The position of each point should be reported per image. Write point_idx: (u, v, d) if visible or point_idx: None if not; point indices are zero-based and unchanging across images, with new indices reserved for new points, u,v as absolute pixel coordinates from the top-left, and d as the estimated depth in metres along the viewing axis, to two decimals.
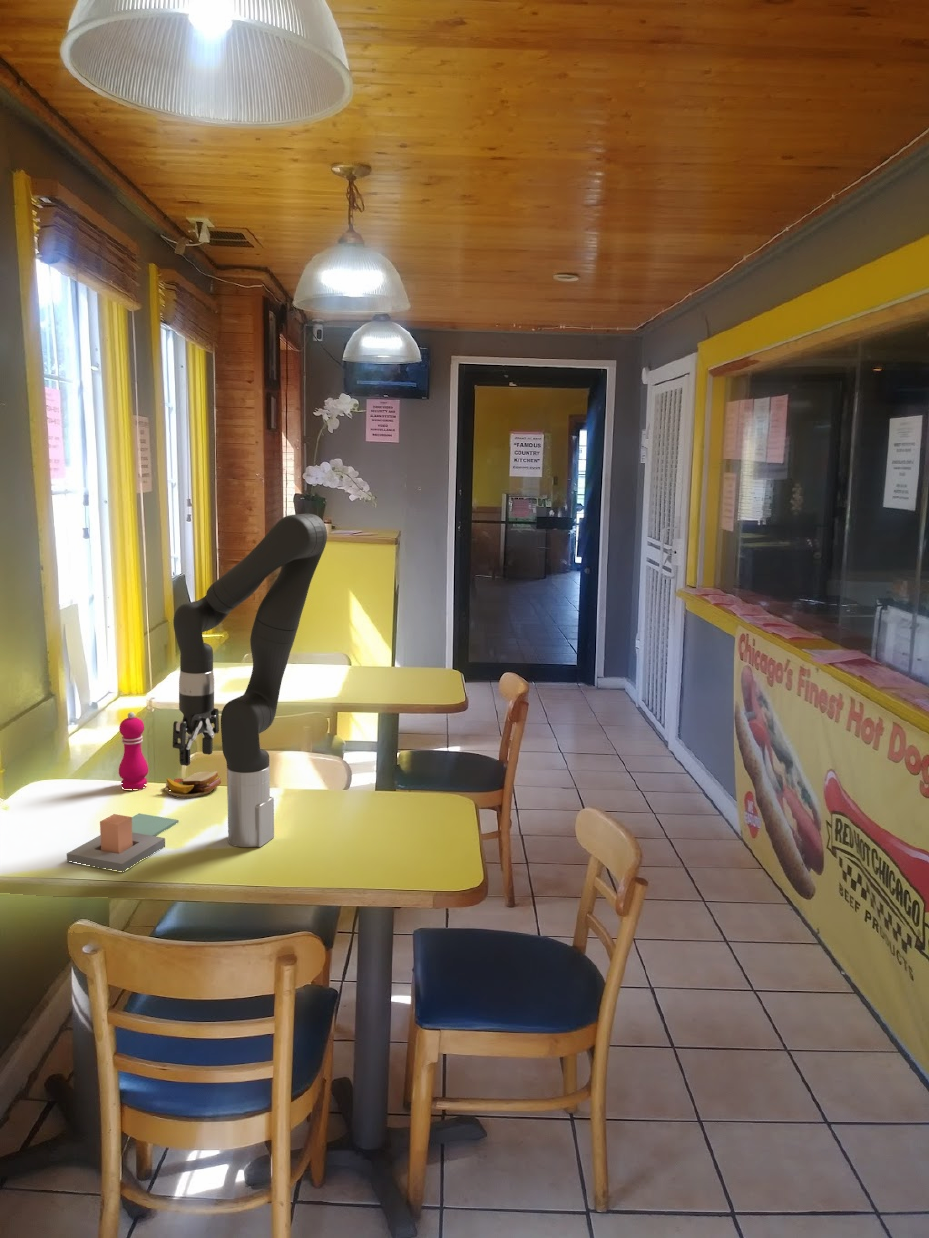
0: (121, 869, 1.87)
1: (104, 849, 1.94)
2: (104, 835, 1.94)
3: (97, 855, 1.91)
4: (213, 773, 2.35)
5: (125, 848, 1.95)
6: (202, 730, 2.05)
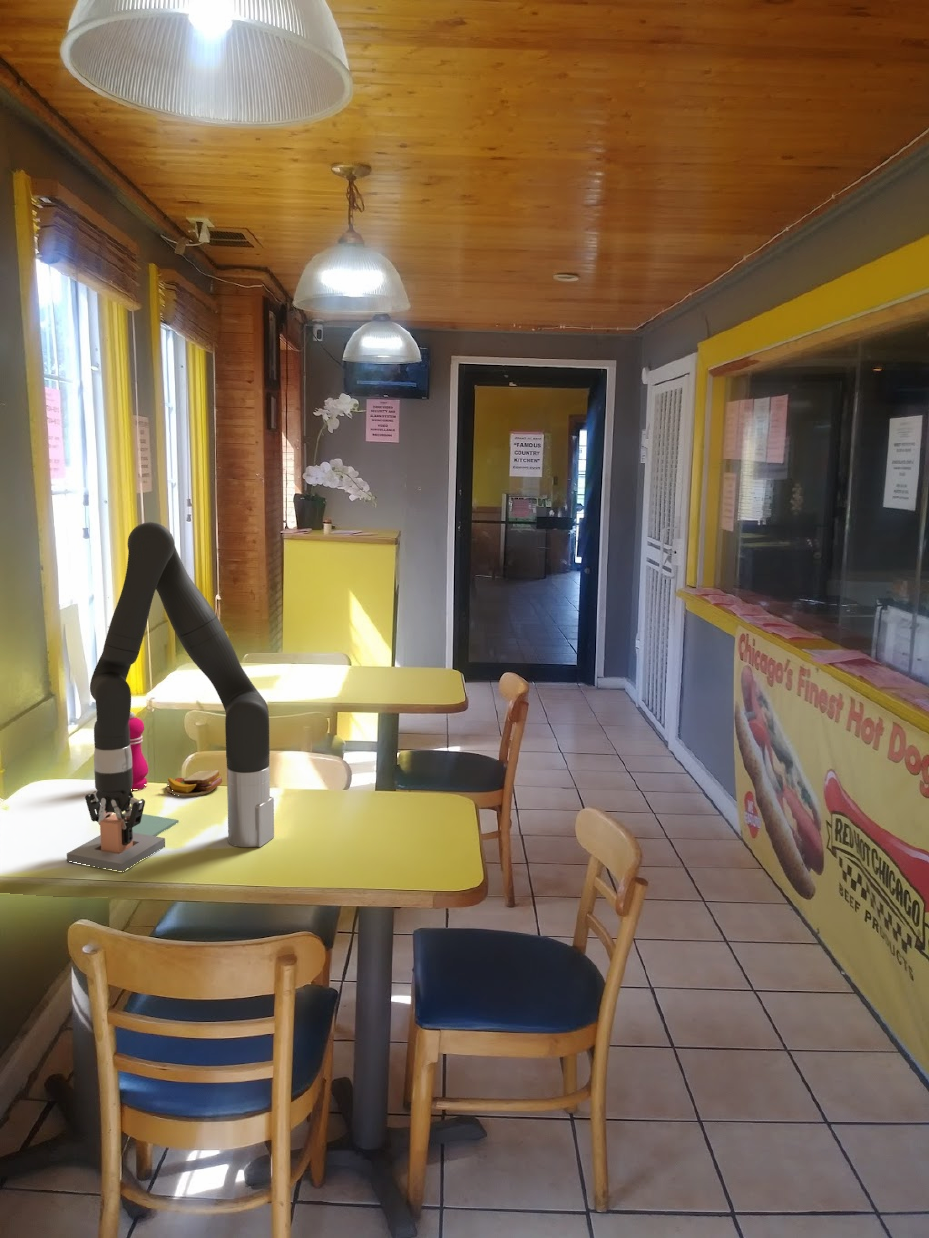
0: (121, 869, 1.87)
1: (104, 849, 1.94)
2: (104, 835, 1.93)
3: (97, 855, 1.91)
4: (214, 772, 2.35)
5: (125, 848, 1.95)
6: None
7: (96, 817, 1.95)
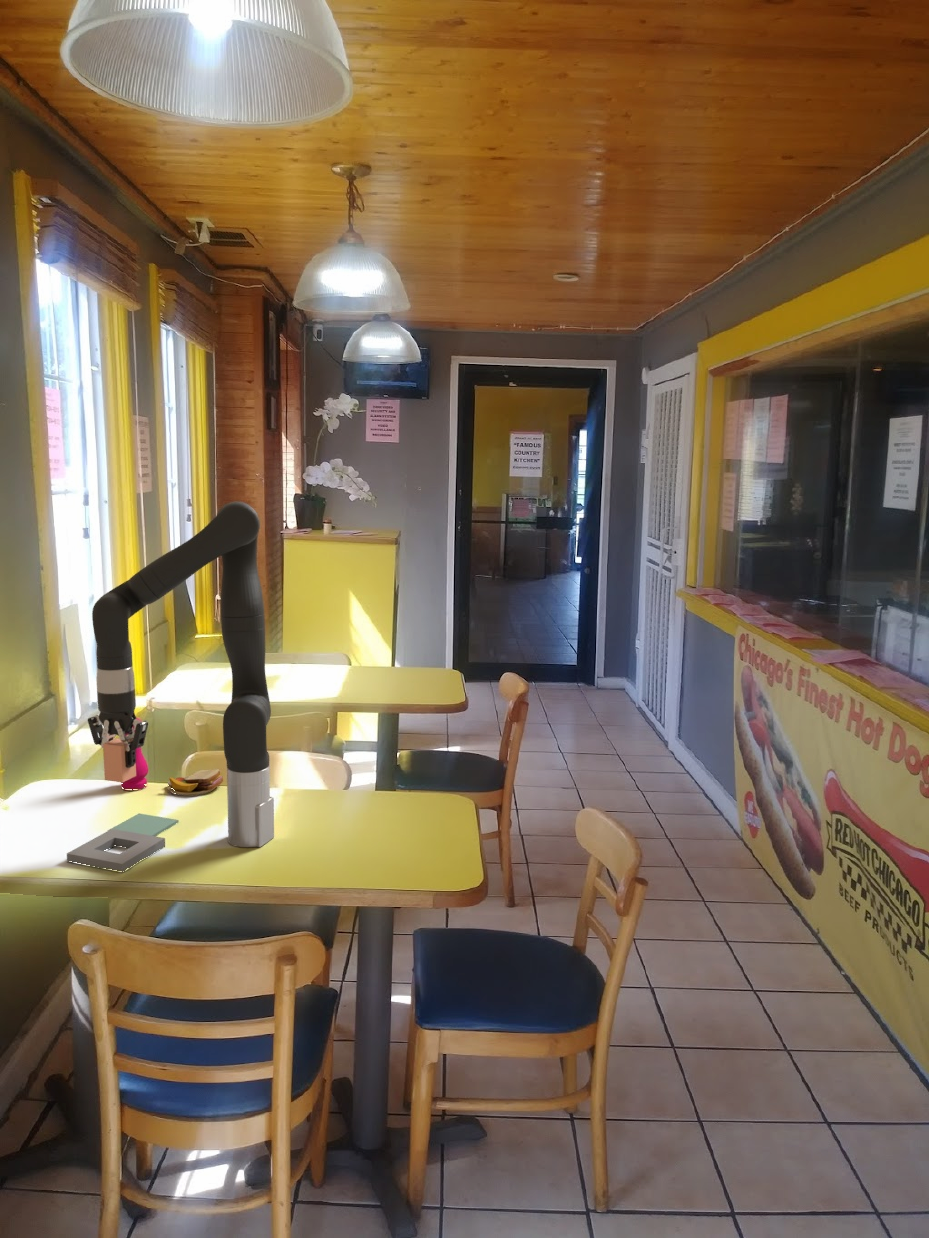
0: (121, 869, 1.87)
1: (107, 772, 1.94)
2: (107, 757, 1.93)
3: (97, 855, 1.91)
4: (215, 771, 2.36)
5: (128, 771, 1.95)
6: None
7: (99, 740, 1.95)
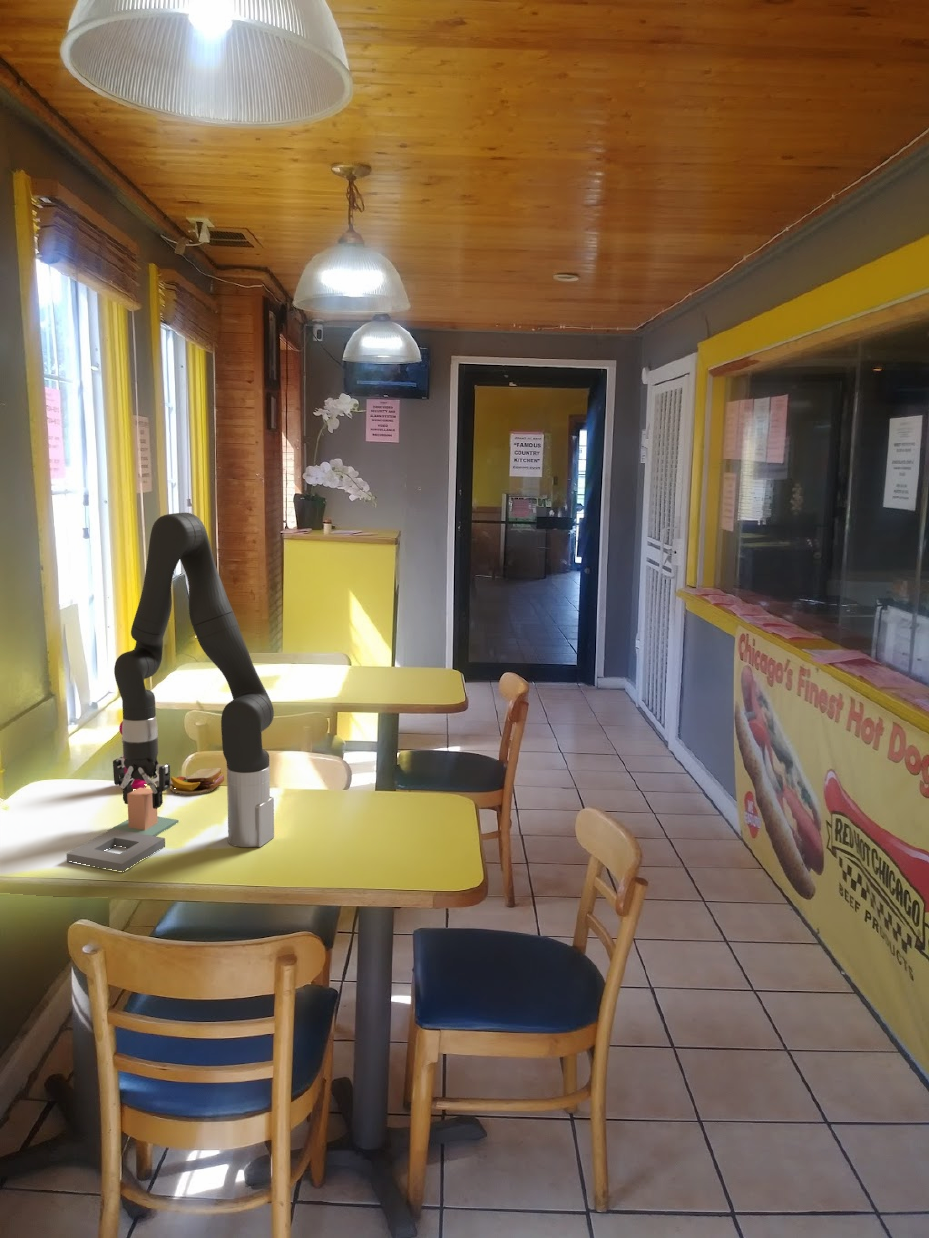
0: (121, 869, 1.87)
1: (131, 820, 2.08)
2: (131, 806, 2.08)
3: (97, 855, 1.91)
4: (217, 770, 2.37)
5: (150, 819, 2.09)
6: None
7: (119, 781, 2.09)
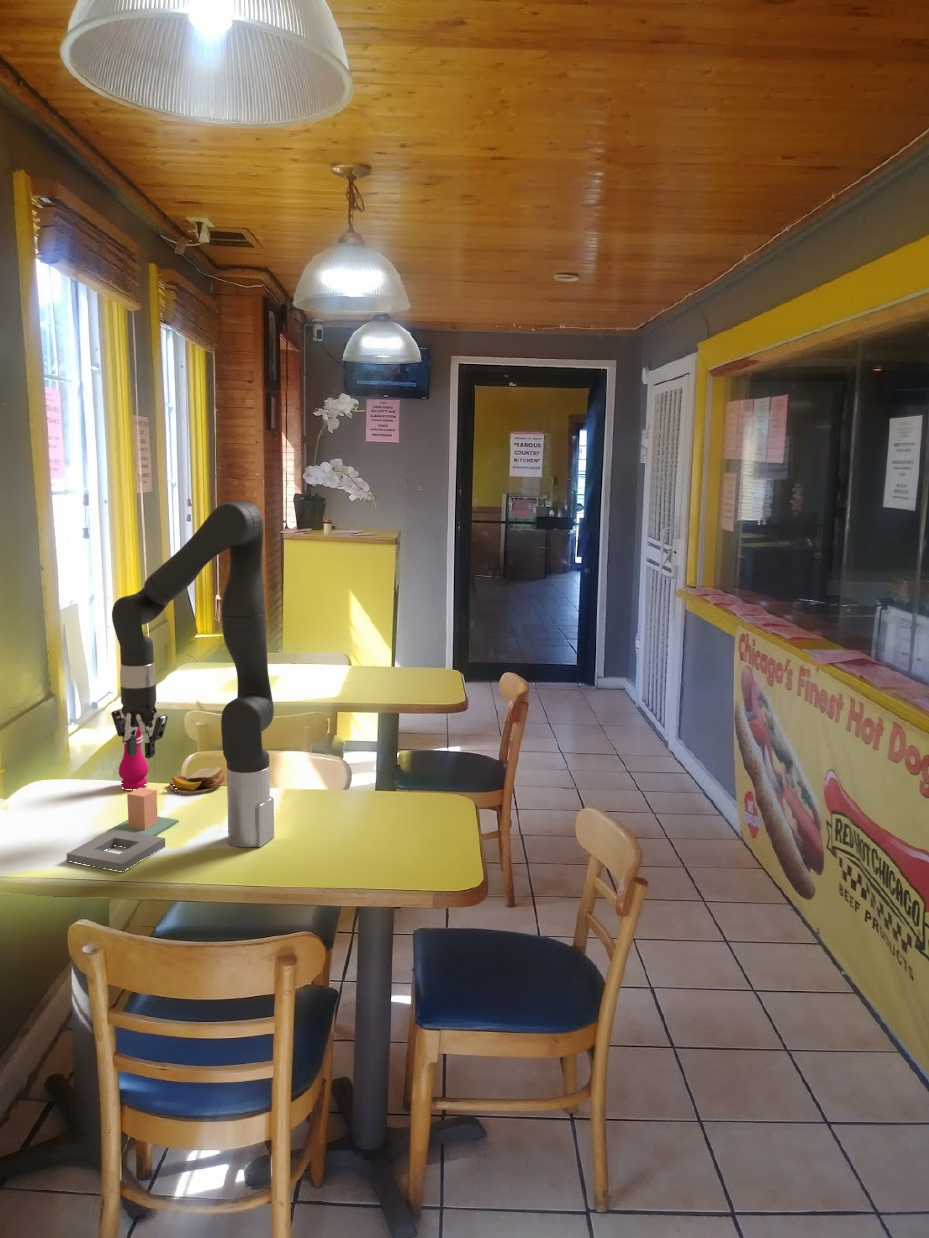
0: (121, 869, 1.87)
1: (131, 820, 2.08)
2: (131, 806, 2.08)
3: (97, 855, 1.91)
4: (217, 769, 2.38)
5: (150, 819, 2.09)
6: None
7: (122, 732, 2.07)
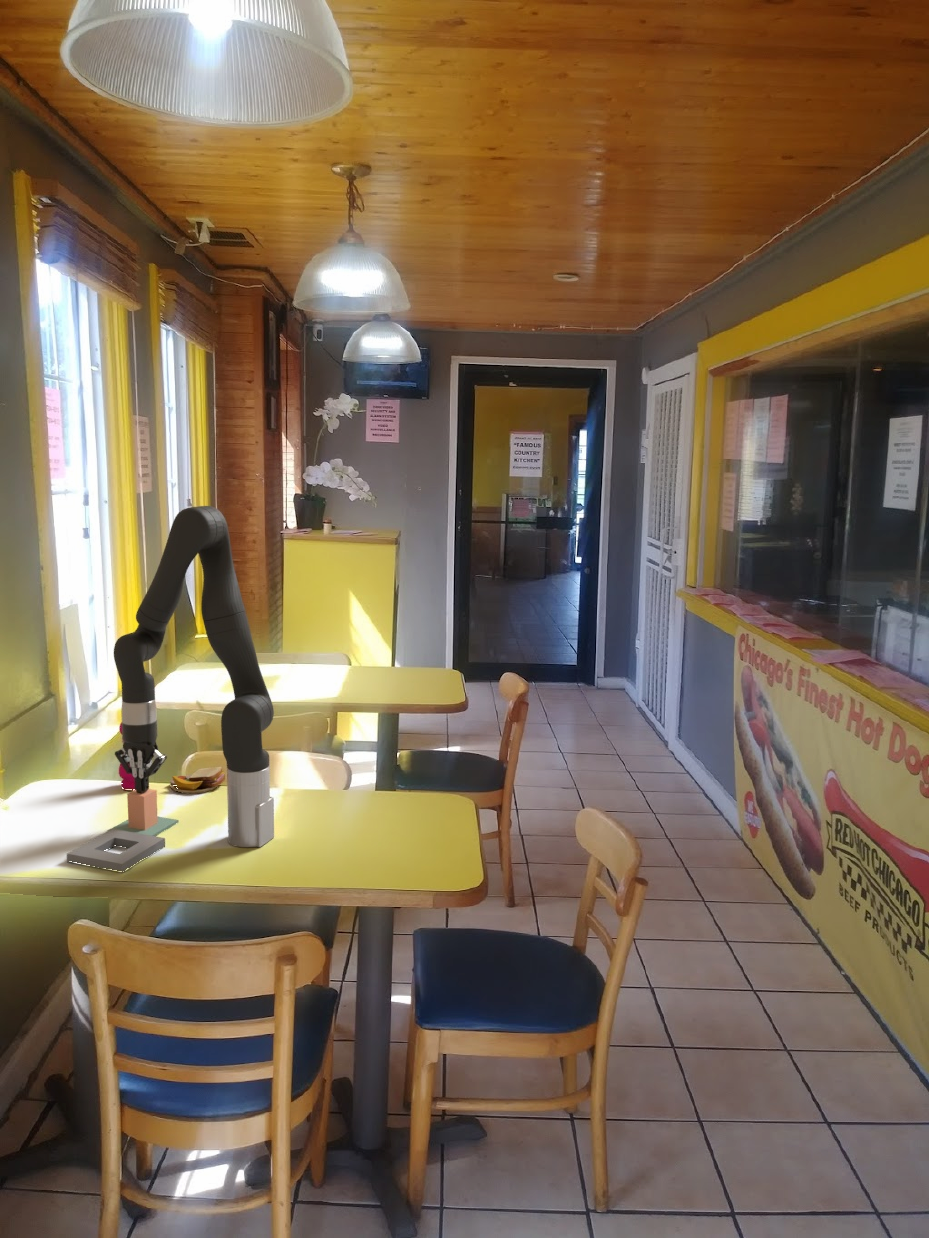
0: (121, 869, 1.87)
1: (131, 820, 2.08)
2: (131, 806, 2.08)
3: (97, 855, 1.91)
4: (218, 769, 2.38)
5: (150, 819, 2.09)
6: None
7: (131, 770, 2.08)
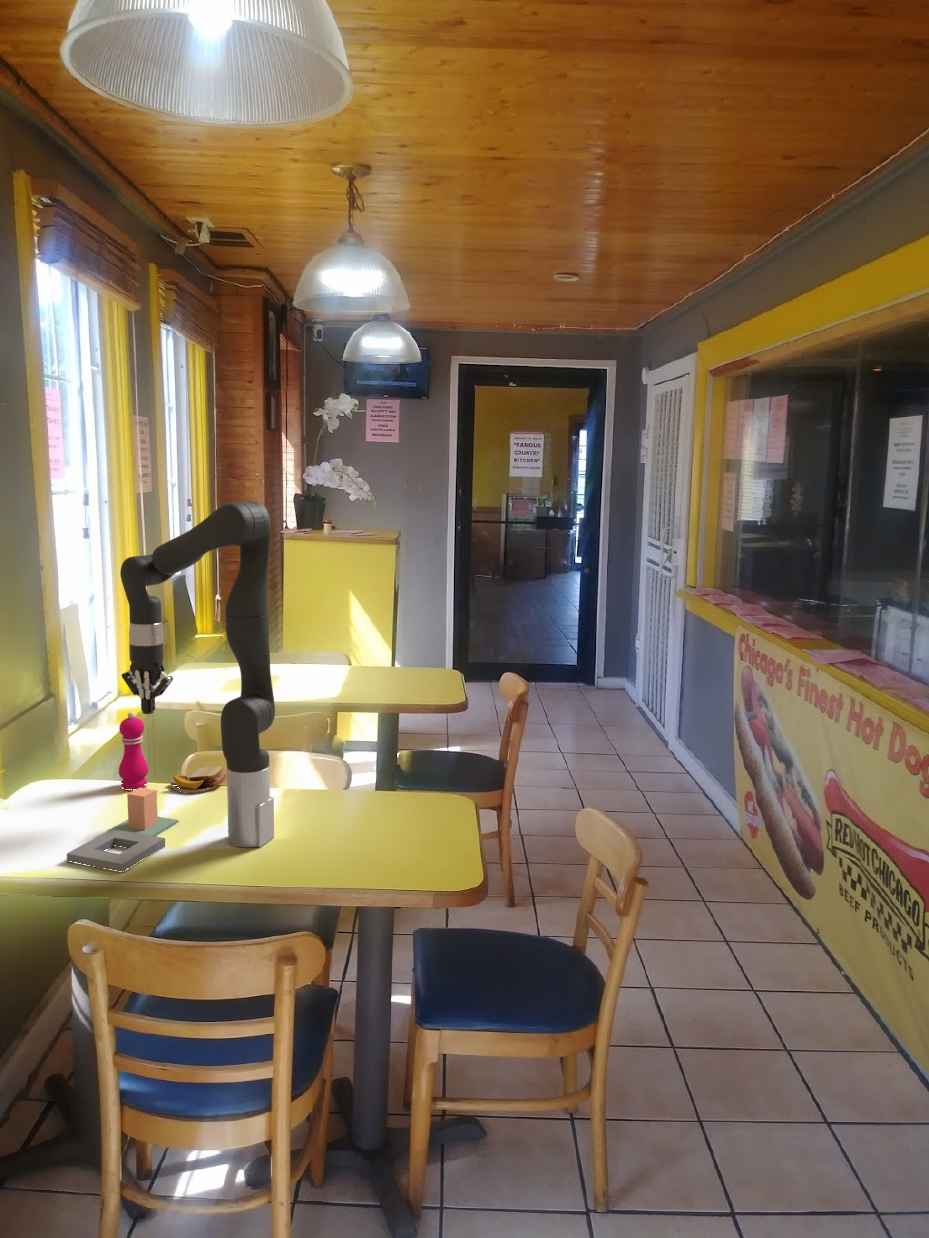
0: (121, 869, 1.87)
1: (131, 820, 2.08)
2: (131, 806, 2.08)
3: (97, 855, 1.91)
4: (218, 768, 2.39)
5: (150, 819, 2.09)
6: None
7: (137, 691, 2.14)
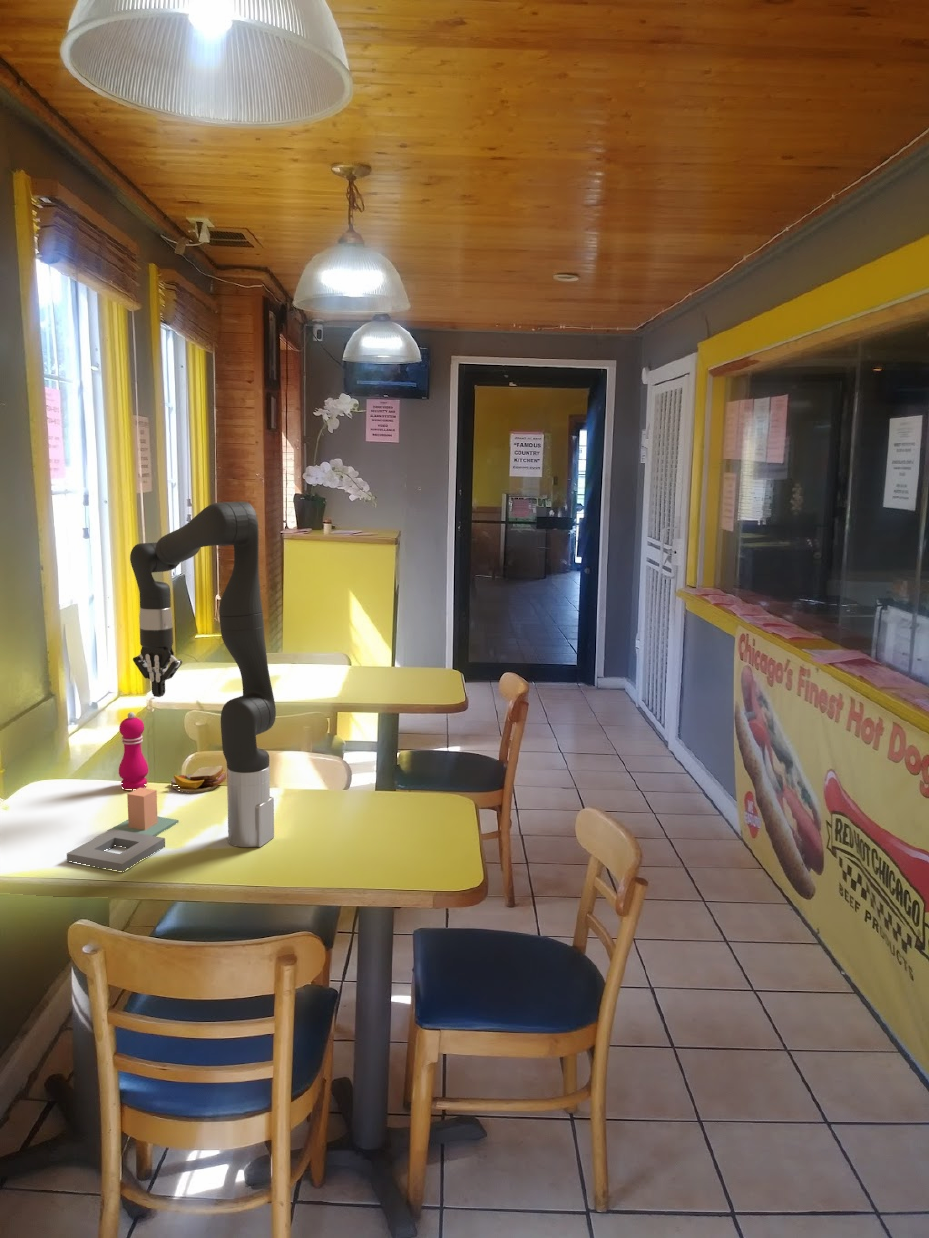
0: (121, 869, 1.87)
1: (131, 820, 2.08)
2: (131, 806, 2.08)
3: (97, 855, 1.91)
4: (219, 767, 2.39)
5: (150, 819, 2.09)
6: None
7: (148, 674, 2.21)
